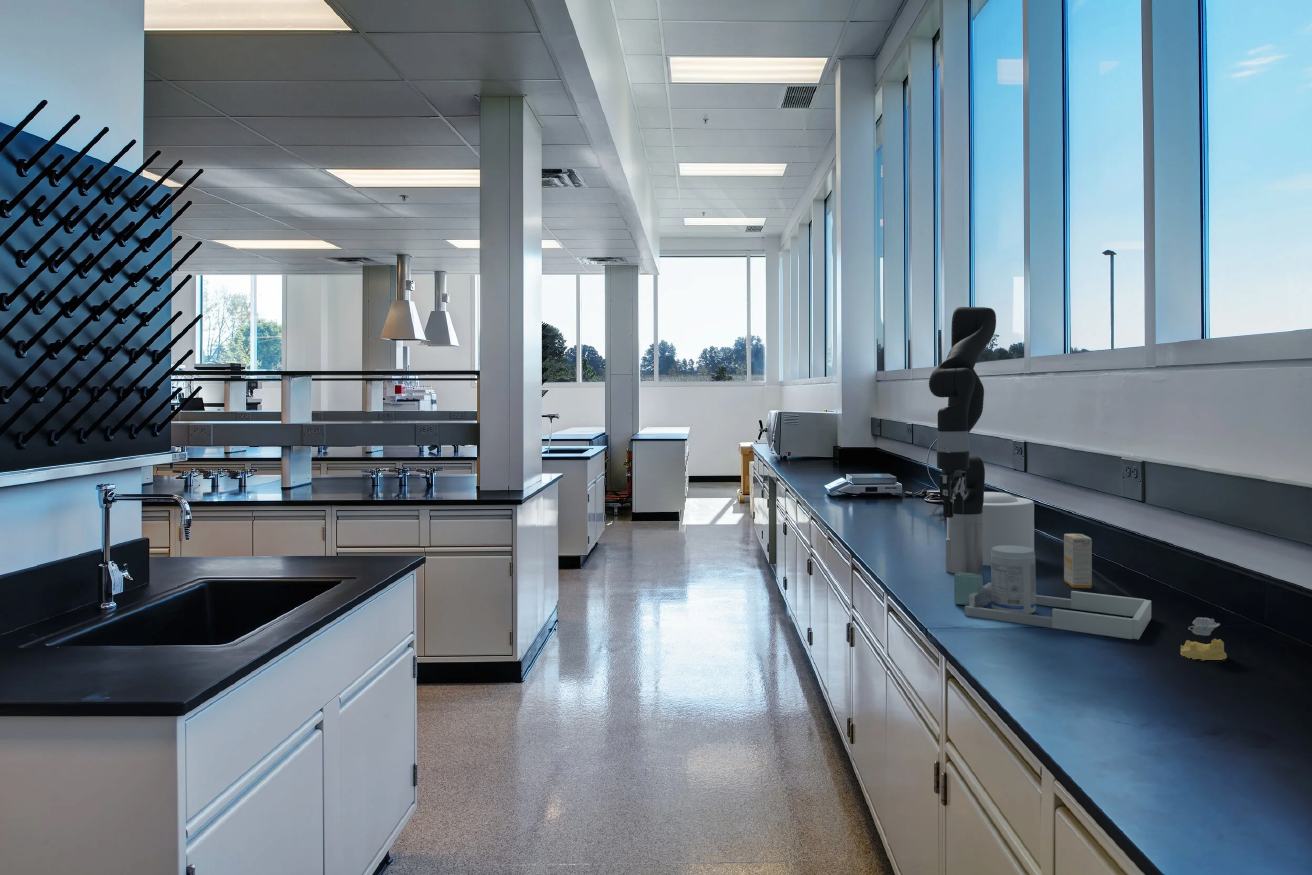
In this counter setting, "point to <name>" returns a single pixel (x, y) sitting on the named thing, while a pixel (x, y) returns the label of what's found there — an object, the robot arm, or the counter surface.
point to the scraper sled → (971, 590)
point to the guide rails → (1021, 617)
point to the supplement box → (1078, 560)
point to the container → (1006, 522)
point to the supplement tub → (1013, 579)
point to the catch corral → (1104, 623)
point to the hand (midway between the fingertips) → (953, 515)
